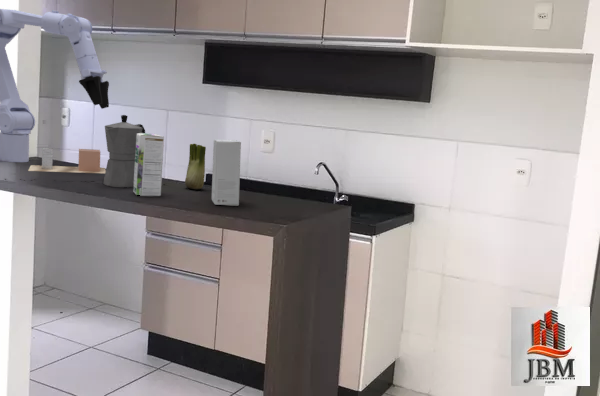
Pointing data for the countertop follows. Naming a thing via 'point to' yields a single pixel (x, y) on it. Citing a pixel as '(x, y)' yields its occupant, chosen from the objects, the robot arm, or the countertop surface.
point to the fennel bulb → (196, 167)
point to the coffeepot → (121, 153)
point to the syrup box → (148, 164)
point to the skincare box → (226, 172)
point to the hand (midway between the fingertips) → (101, 106)
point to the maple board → (62, 169)
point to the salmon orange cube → (89, 160)
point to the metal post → (47, 158)
